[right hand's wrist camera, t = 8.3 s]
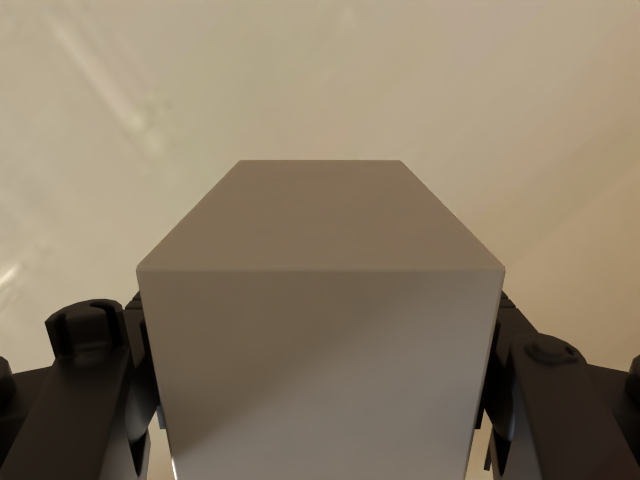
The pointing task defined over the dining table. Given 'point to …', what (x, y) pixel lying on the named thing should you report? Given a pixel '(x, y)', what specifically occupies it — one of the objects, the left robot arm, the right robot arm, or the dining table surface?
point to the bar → (320, 326)
